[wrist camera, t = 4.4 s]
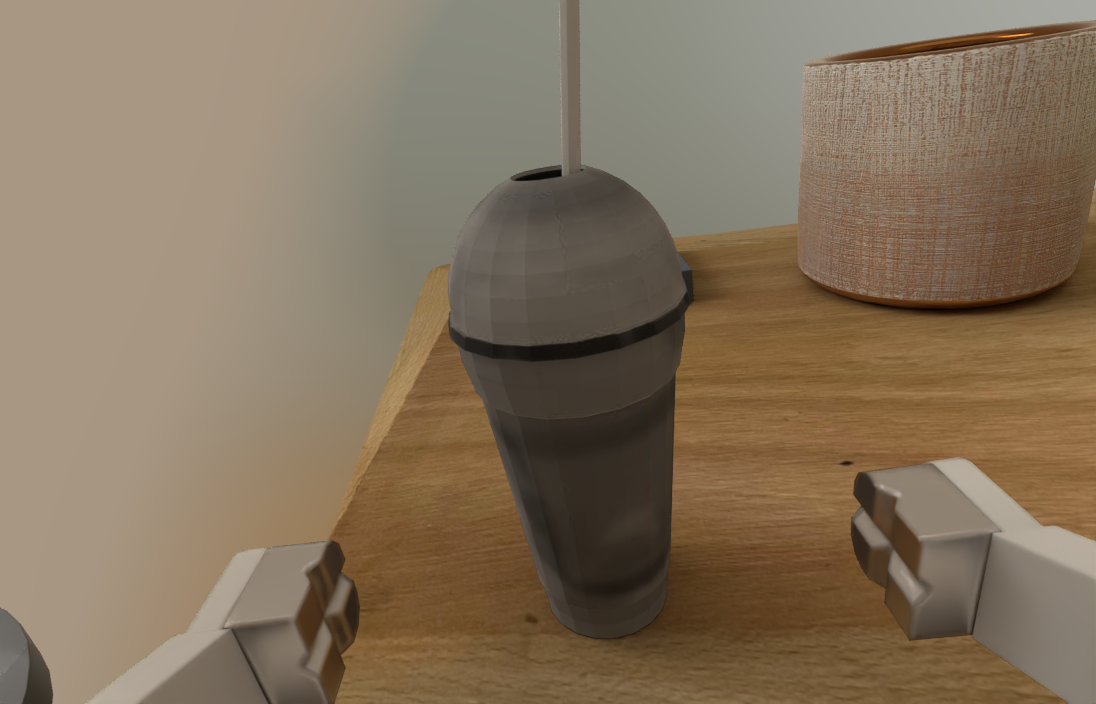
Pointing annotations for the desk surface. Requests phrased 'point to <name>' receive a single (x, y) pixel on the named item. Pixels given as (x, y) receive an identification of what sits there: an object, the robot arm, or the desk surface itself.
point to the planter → (949, 167)
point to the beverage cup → (578, 369)
